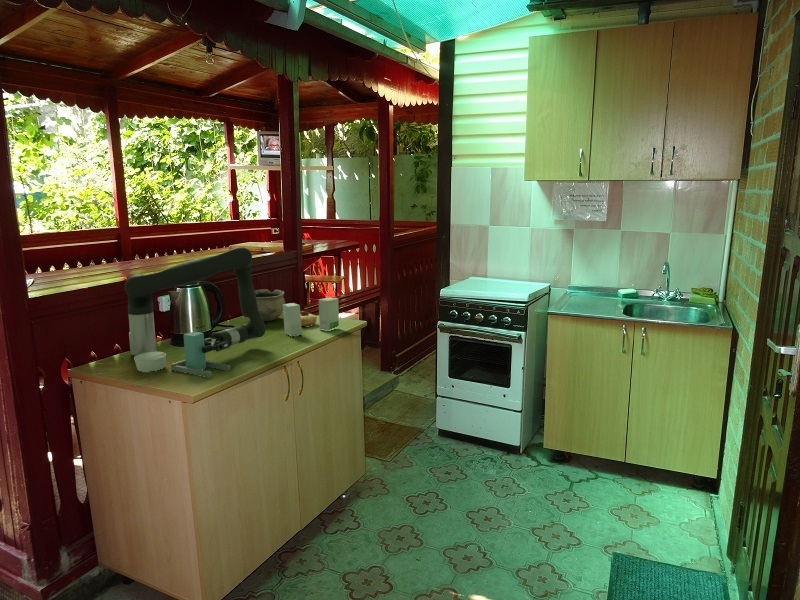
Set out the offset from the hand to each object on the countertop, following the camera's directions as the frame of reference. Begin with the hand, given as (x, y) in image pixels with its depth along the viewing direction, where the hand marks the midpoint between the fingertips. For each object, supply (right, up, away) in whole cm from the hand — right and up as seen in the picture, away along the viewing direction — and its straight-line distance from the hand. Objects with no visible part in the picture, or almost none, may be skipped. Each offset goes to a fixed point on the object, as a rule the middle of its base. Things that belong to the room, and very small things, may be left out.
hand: (194, 349), depth 198 cm
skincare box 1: (+26, +2, +53) cm, 59 cm away
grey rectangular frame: (+3, -8, 0) cm, 9 cm away
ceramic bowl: (+5, +8, +82) cm, 83 cm away
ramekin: (-17, -8, +3) cm, 19 cm away
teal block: (0, -8, +2) cm, 8 cm away
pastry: (+29, +5, +72) cm, 77 cm away
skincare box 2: (+42, +4, +63) cm, 76 cm away
